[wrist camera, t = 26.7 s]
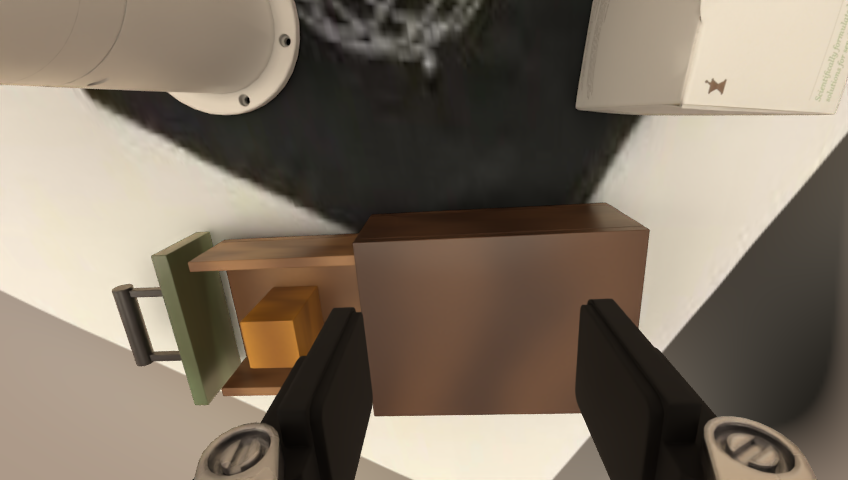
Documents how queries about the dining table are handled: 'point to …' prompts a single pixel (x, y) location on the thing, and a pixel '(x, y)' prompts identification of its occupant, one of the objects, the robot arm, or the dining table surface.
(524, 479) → the dining table surface
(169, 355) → the drawer
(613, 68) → the cosmetic box
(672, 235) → the dining table surface
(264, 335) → the block
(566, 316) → the cabinet
